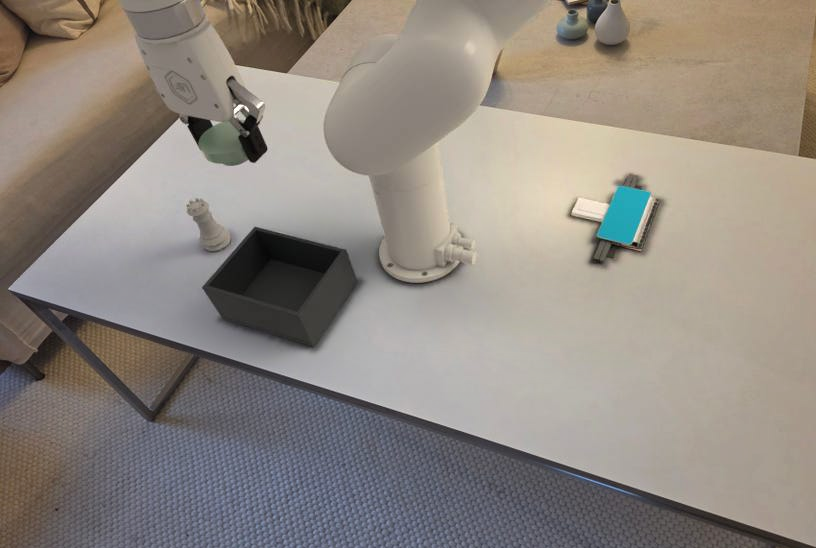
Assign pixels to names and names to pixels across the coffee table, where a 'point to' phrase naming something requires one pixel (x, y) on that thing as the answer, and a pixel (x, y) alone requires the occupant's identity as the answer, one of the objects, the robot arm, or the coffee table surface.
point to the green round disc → (222, 145)
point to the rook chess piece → (208, 226)
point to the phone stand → (620, 218)
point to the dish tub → (282, 285)
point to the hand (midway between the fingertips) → (234, 150)
